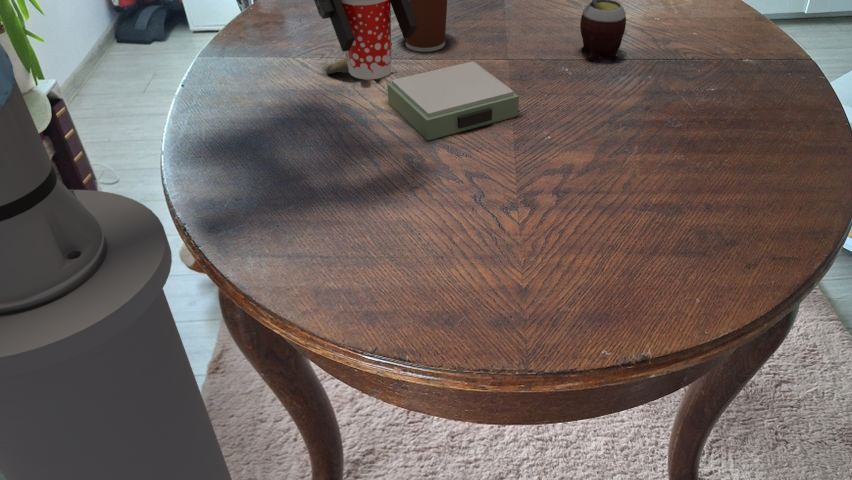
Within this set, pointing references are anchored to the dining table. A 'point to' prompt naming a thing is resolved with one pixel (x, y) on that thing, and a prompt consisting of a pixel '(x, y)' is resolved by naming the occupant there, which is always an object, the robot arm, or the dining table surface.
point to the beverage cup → (369, 38)
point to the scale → (452, 100)
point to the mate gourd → (602, 28)
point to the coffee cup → (428, 25)
